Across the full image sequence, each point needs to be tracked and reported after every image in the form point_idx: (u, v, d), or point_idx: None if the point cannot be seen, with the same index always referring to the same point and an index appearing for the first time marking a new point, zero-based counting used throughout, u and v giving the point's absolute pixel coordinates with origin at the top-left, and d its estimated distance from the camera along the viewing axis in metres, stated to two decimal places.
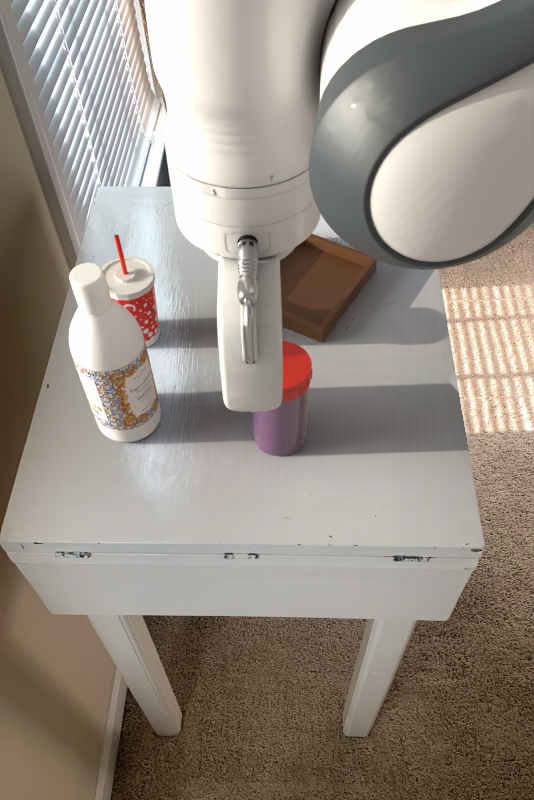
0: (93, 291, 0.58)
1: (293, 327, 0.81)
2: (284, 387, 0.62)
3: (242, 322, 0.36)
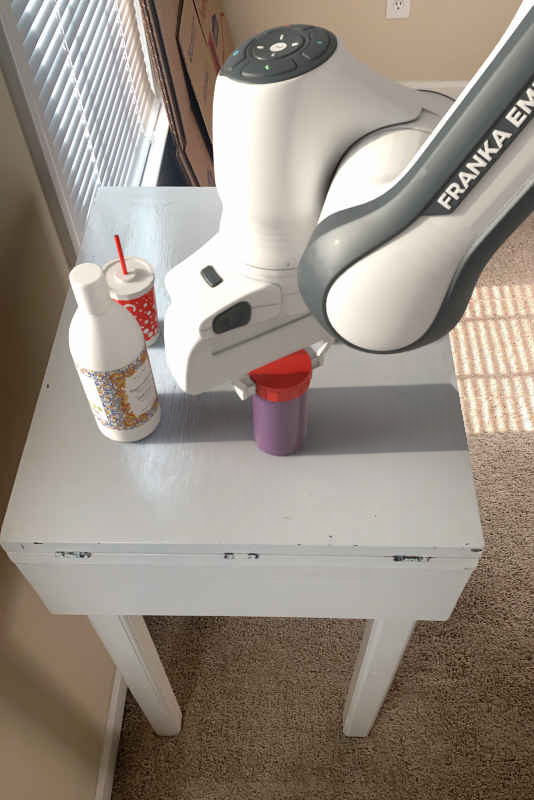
0: (93, 291, 0.58)
1: None
2: (284, 386, 0.62)
3: None
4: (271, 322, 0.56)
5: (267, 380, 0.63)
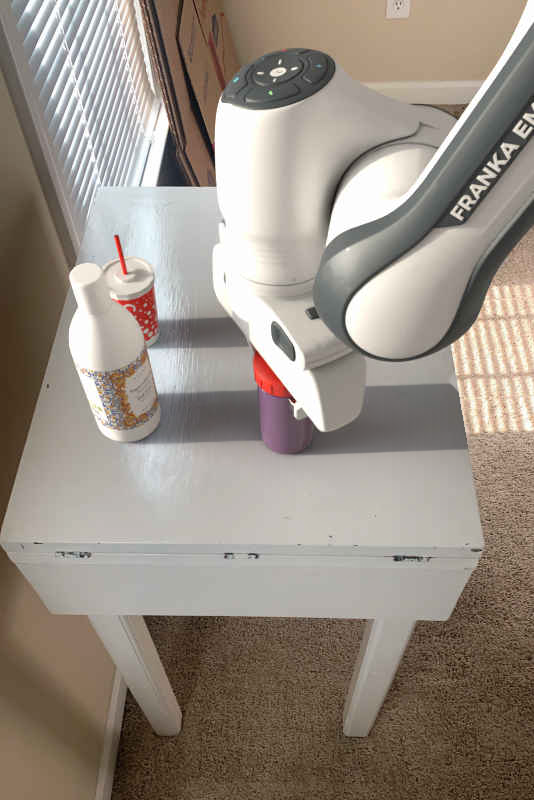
0: (93, 291, 0.58)
1: None
2: None
3: None
4: None
5: None
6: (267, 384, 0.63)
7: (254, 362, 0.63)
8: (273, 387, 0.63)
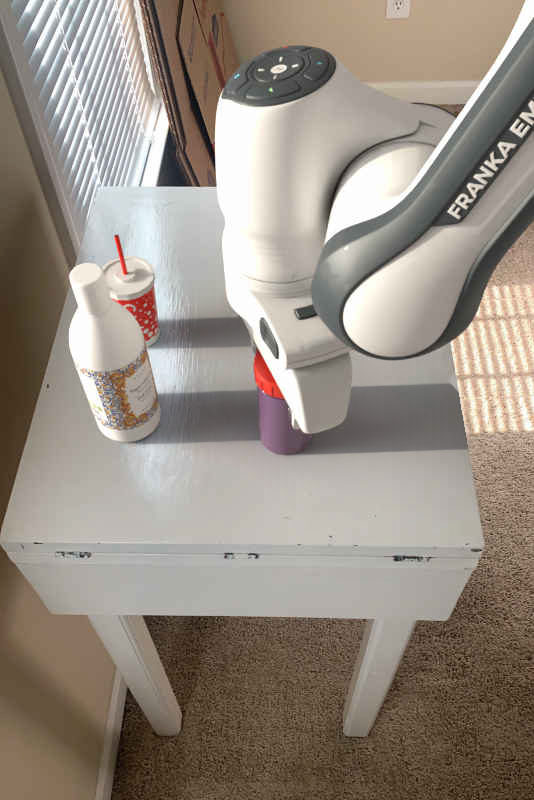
0: (93, 291, 0.58)
1: None
2: None
3: None
4: None
5: None
6: (268, 386, 0.63)
7: (255, 363, 0.63)
8: (274, 389, 0.63)
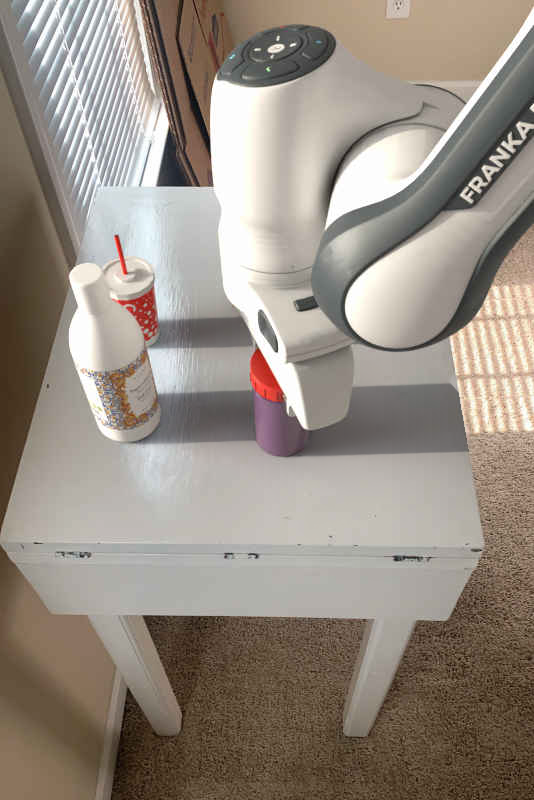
0: (93, 291, 0.58)
1: None
2: None
3: None
4: None
5: None
6: None
7: None
8: None
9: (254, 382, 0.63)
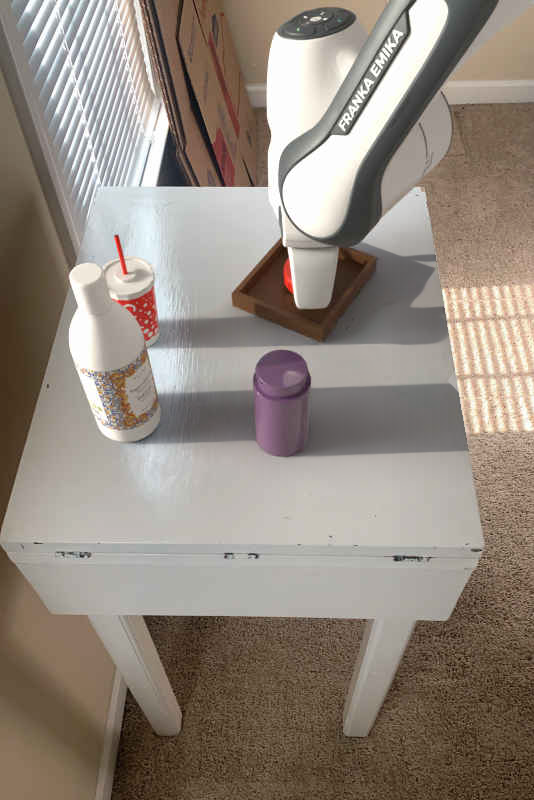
0: (93, 291, 0.58)
1: (293, 327, 0.81)
2: None
3: None
4: None
5: None
6: None
7: None
8: None
9: None
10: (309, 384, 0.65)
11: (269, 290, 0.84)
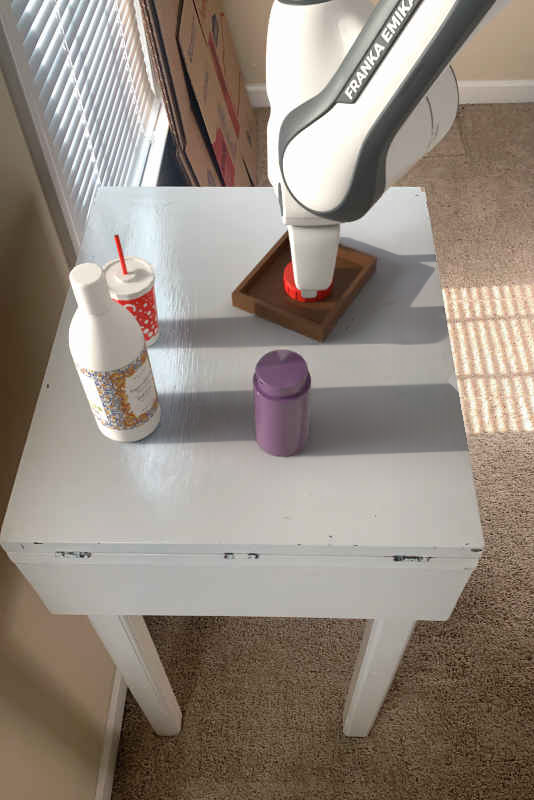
0: (93, 291, 0.58)
1: (293, 327, 0.81)
2: None
3: None
4: None
5: None
6: (320, 292, 0.82)
7: None
8: (325, 290, 0.82)
9: (284, 281, 0.84)
10: (309, 384, 0.65)
11: (269, 290, 0.84)
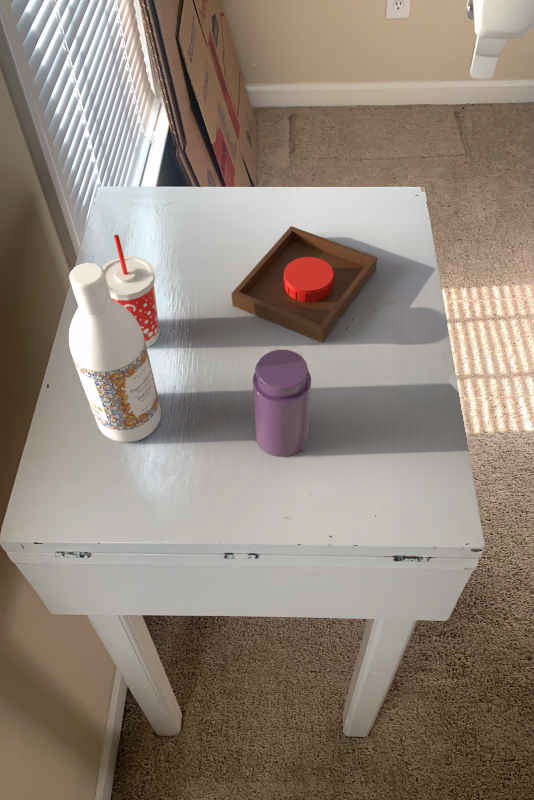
0: (94, 291, 0.58)
1: (293, 327, 0.81)
2: (315, 258, 0.84)
3: None
4: None
5: (323, 266, 0.84)
6: (320, 292, 0.82)
7: (300, 288, 0.82)
8: (325, 290, 0.82)
9: (284, 281, 0.84)
10: (309, 384, 0.65)
11: (269, 290, 0.84)
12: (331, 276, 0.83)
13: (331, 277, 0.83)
